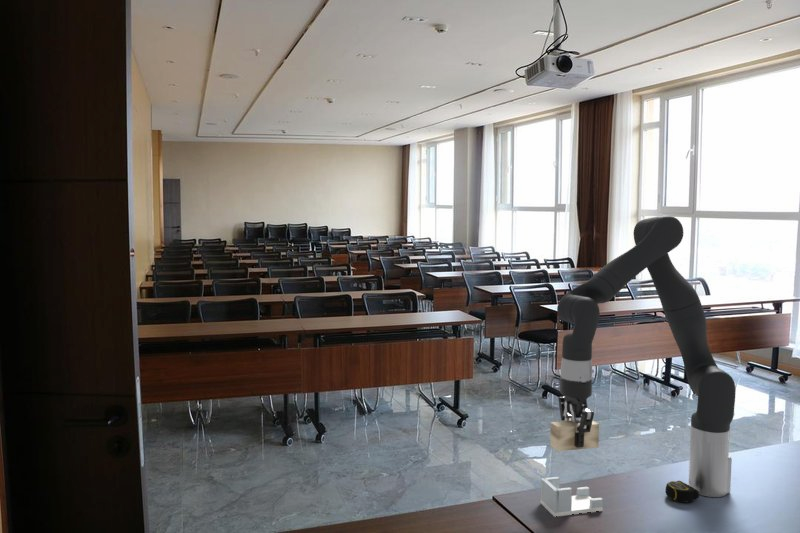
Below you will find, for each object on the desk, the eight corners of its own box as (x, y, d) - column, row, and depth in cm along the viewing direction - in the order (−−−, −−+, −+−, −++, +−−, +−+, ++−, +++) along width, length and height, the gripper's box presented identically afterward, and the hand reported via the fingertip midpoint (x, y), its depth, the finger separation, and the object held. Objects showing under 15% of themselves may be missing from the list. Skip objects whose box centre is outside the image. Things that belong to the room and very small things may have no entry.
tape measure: (700, 503, 162) (700, 489, 162) (678, 506, 160) (678, 492, 160) (680, 492, 169) (681, 478, 168) (659, 495, 167) (659, 481, 166)
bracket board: (587, 497, 165) (587, 473, 164) (602, 511, 158) (603, 485, 157) (540, 503, 162) (541, 478, 161) (554, 516, 155) (554, 490, 154)
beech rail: (557, 451, 155) (558, 427, 155) (550, 445, 159) (550, 422, 159) (598, 447, 158) (599, 423, 157) (589, 441, 162) (590, 418, 161)
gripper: (549, 369, 163) (547, 435, 165) (576, 384, 149) (574, 455, 151) (575, 368, 165) (574, 432, 166) (605, 382, 151) (603, 452, 153)
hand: (574, 443), depth 159 cm, fingers closed on beech rail, 4 cm apart
